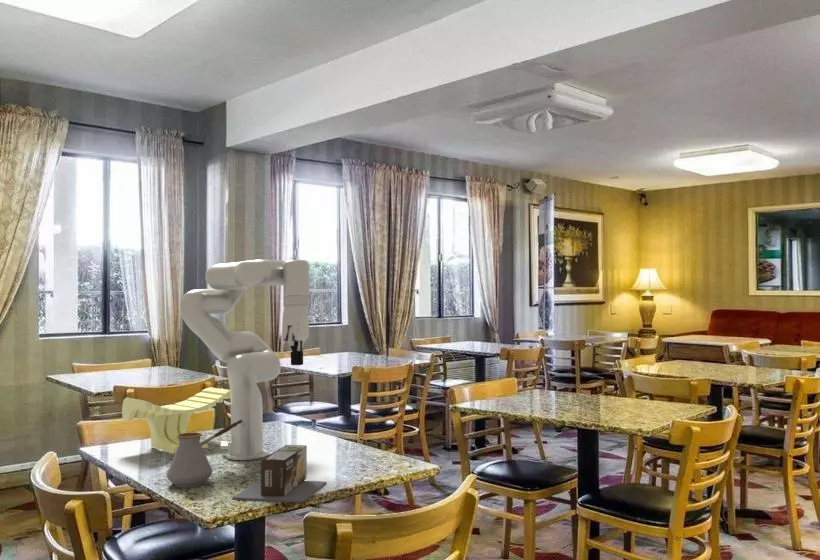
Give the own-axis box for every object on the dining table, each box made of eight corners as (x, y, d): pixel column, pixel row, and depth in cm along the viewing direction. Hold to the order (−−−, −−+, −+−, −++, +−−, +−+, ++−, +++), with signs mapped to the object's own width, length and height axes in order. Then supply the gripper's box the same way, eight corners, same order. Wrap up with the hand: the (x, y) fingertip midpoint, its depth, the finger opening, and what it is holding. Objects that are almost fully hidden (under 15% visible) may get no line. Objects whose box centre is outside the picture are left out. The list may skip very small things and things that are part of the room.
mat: (232, 499, 167) (232, 497, 167) (262, 480, 183) (262, 479, 183) (302, 502, 163) (302, 500, 163) (326, 483, 179) (326, 481, 179)
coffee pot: (176, 492, 174) (175, 432, 174) (160, 483, 183) (159, 426, 183) (253, 477, 187) (253, 421, 188) (235, 469, 196) (235, 416, 196)
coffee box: (284, 444, 183) (260, 457, 168) (307, 445, 182) (285, 458, 166) (284, 479, 183) (260, 495, 167) (307, 480, 182) (285, 496, 166)
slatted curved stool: (205, 436, 244) (204, 386, 245) (230, 442, 234) (230, 390, 234) (122, 452, 222) (122, 396, 222) (146, 459, 211) (146, 400, 212)
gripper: (294, 301, 210) (294, 362, 209) (274, 302, 195) (274, 367, 195) (317, 301, 208) (318, 362, 208) (298, 302, 194) (299, 367, 193)
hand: (297, 364), depth 201 cm, fingers closed
